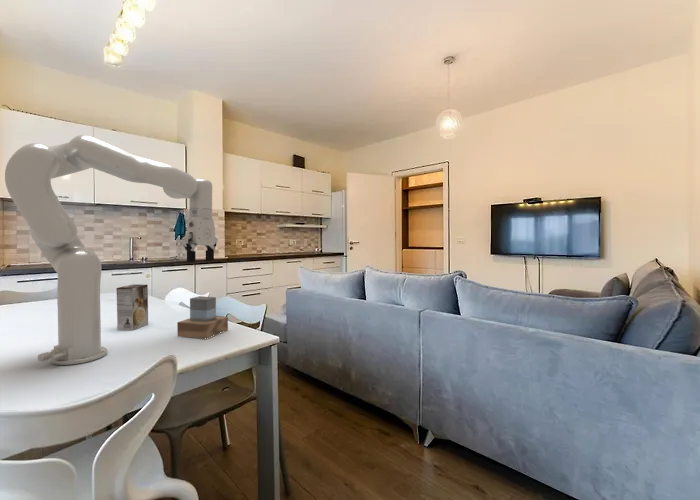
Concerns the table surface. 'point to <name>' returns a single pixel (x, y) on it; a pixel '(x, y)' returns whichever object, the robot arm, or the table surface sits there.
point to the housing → (202, 308)
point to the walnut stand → (202, 327)
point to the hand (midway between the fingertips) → (200, 261)
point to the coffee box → (132, 307)
